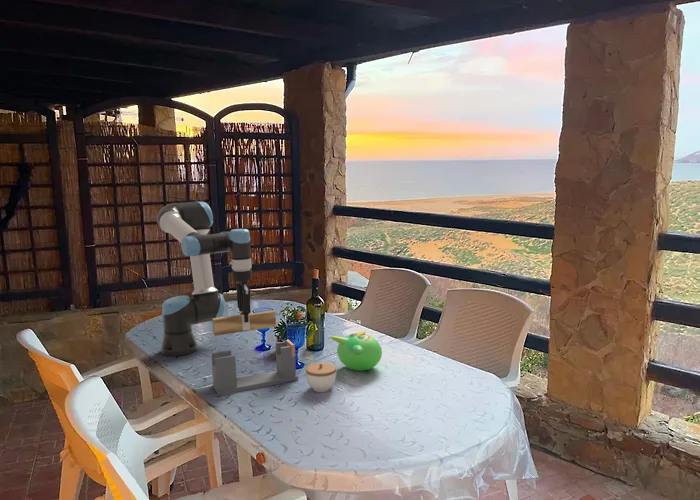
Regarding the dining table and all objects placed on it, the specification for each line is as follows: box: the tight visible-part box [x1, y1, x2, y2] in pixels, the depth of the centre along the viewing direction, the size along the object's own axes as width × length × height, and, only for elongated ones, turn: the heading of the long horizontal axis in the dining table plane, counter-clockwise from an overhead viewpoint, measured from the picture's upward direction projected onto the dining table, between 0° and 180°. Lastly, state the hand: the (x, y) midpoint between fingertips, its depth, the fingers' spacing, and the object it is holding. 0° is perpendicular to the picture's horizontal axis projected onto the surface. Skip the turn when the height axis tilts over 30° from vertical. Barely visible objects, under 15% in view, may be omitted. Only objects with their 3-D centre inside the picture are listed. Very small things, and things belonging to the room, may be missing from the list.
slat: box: [212, 309, 277, 337], centre depth 214 cm, size 3×24×6 cm, turn 115°
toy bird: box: [330, 330, 383, 372], centre depth 214 cm, size 18×17×15 cm
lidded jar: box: [305, 362, 337, 393], centre depth 196 cm, size 11×11×9 cm
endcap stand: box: [210, 339, 299, 396], centre depth 202 cm, size 9×30×14 cm, turn 115°
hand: (245, 328), depth 214 cm, fingers closed on slat, 3 cm apart
